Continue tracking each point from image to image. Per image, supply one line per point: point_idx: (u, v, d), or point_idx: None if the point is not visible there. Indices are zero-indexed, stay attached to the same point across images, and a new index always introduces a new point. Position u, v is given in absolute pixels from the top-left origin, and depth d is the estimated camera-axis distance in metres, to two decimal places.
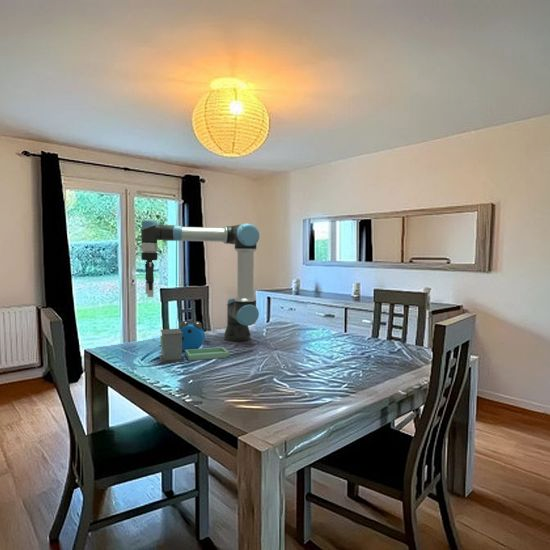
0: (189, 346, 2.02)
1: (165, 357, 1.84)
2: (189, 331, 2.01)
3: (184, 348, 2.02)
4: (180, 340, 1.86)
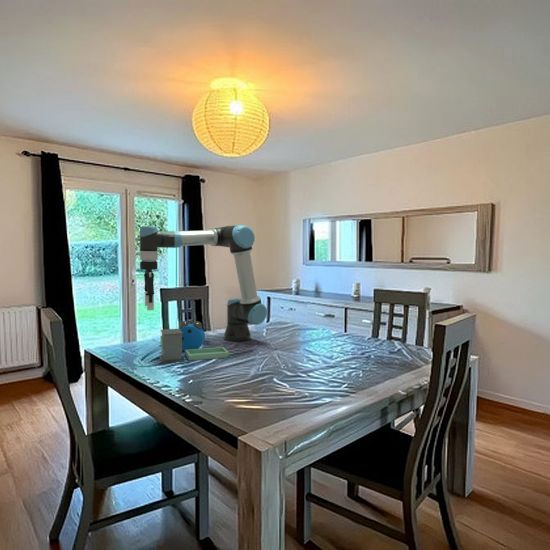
0: (189, 346, 2.02)
1: (165, 357, 1.84)
2: (189, 331, 2.01)
3: (184, 348, 2.02)
4: (180, 340, 1.86)
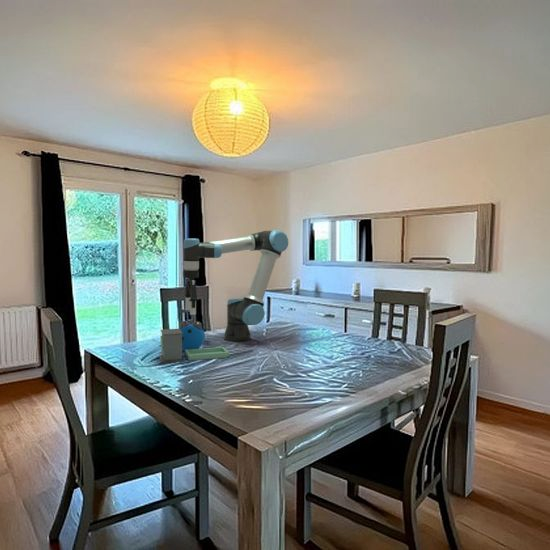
0: (189, 346, 2.02)
1: (165, 357, 1.84)
2: (189, 331, 2.01)
3: (184, 348, 2.02)
4: (180, 340, 1.86)
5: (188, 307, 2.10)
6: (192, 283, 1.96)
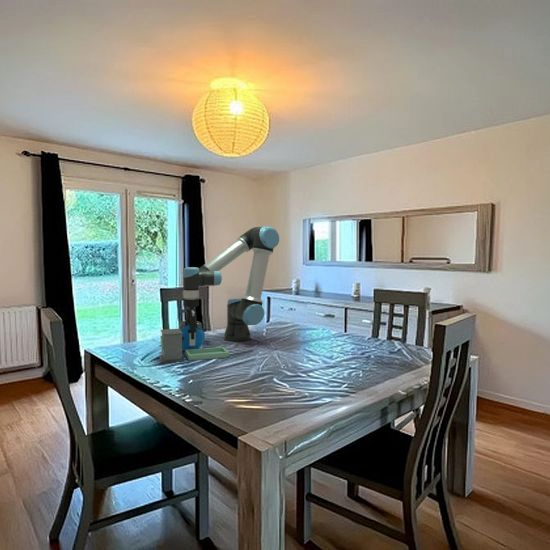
0: (189, 346, 2.02)
1: (165, 357, 1.84)
2: None
3: (184, 348, 2.02)
4: (180, 340, 1.86)
5: None
6: (192, 315, 1.98)
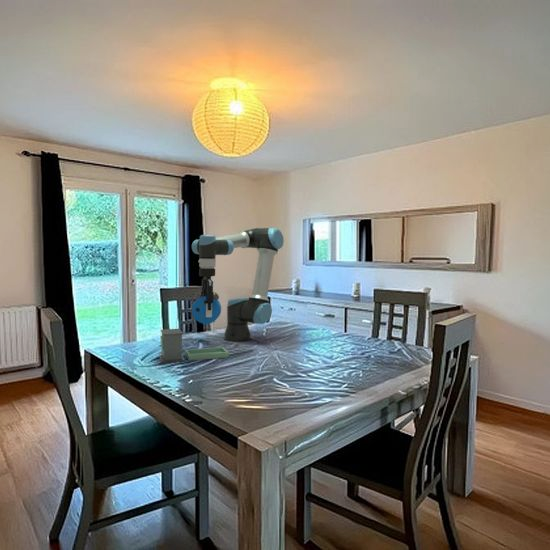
0: (205, 318, 1.92)
1: (165, 357, 1.84)
2: None
3: (200, 320, 1.92)
4: (180, 340, 1.86)
5: None
6: (209, 284, 1.87)
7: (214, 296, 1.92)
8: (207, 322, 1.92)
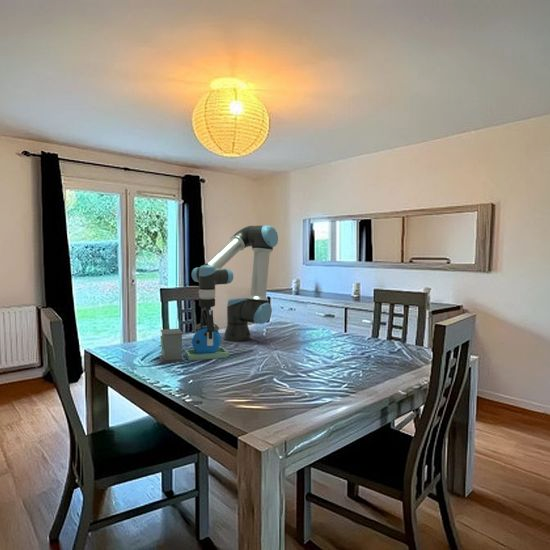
0: (205, 350, 1.93)
1: (165, 357, 1.84)
2: (205, 334, 1.92)
3: (200, 352, 1.93)
4: (180, 340, 1.86)
5: None
6: (209, 313, 1.88)
7: (214, 328, 1.93)
8: None
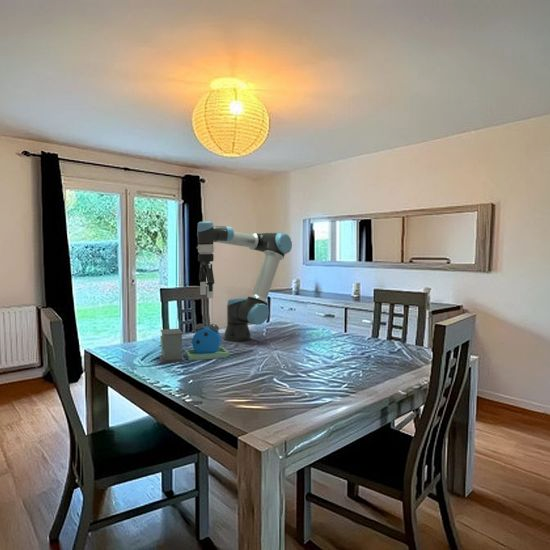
0: (205, 350, 1.93)
1: (165, 357, 1.84)
2: (205, 334, 1.92)
3: (200, 352, 1.93)
4: (180, 340, 1.86)
5: (203, 291, 2.08)
6: (208, 266, 1.95)
7: (214, 328, 1.93)
8: None
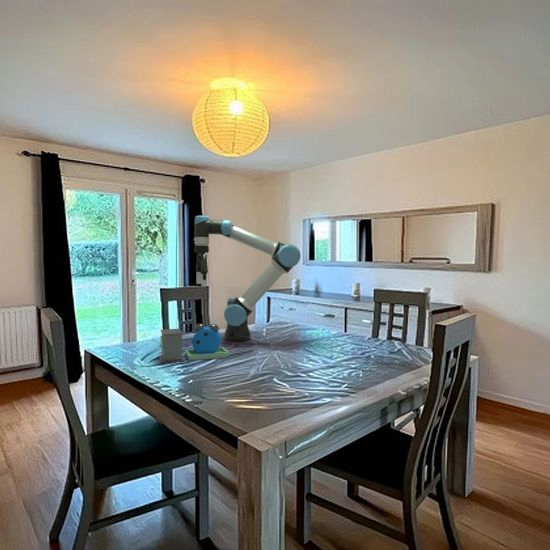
0: (205, 350, 1.93)
1: (165, 357, 1.84)
2: (205, 334, 1.92)
3: (200, 352, 1.93)
4: (180, 340, 1.86)
5: (199, 281, 2.25)
6: (203, 257, 2.11)
7: (214, 328, 1.93)
8: None
